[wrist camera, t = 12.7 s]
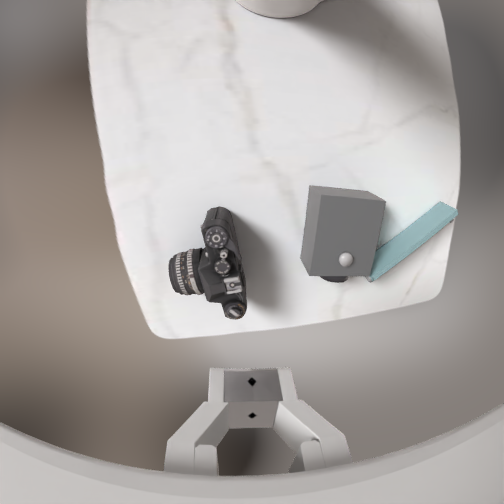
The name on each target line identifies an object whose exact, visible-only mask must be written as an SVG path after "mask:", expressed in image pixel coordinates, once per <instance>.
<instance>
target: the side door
mask: <svg viewBox="0 0 504 504" xmlns="http://www.w3.org/2000/svg"><path fill="white" fill-rule="evenodd" d="M457 215H458V212H457V209H455V208H453V207H451V206H449V205H447V204H445V203H443V202H441V201H440V202H439V203H438V204H437V205H435V206H434V207H433V208H432V209H430V210H429V211H428V212H427V213H425V214H424V215H423V216H422V217H420V218H419V219H418V220H417V221H415V222H414V223H413V224H411V225H410V226H409V227H408V228H406V229H405V230H404V231H402V232H401V233H400V234H398V235H397V236H396V237H394V238H393V239H392V240H390V241H389V242H388V243H386V244H385V245H384V246H382V247H381V248H380V249H378V250H377V251H376V252H375V256H374V260H373V264H372V268H371V272H370V276H365V277H366V279H367V280H368V281H369V282H373V281H374V280H376V279H377V278H378V277H380V276H381V275H382V274H384V273H385V272H387V271H388V270H389V269H391V268H392V267H393V266H395V265H396V264H397V263H399V262H400V261H401V260H403V259H404V258H405V257H407V256H408V255H409V254H411V253H412V252H413V251H414V250H416V249H417V248H418V247H419V246H421V245H422V244H423V243H424V242H426V241H427V240H428V239H429V238H431V237H432V236H433V235H434V234H436V233H437V232H438V231H439V230H440V229H442V228H443V227H444V226H445V225H446V224H448V223H449V222H450V223H451V222H452V221H453V218H455V217H456V216H457Z"/></svg>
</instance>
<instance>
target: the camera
mask: <svg viewBox="0 0 504 504" xmlns="http://www.w3.org/2000/svg"><path fill="white" fill-rule="evenodd" d="M201 228H202V229H201V231H202V235H203V238H204V242H205V246H206V247H205V248H204V249H202V248H199V249H190V250H189V251H187V252H181V253H178V254H176V255H174V256H173V258H171V259H170V261H169V277H170V281H171V284H172V287H173V289H174V290H175V292H177V293H180V294H181V295H182V294H185V295H191V294H197V295H200V294H203V293H205V296H206V299H207V301H209V302H214V303H221V304H222V307H223V310H224V314H225V317H227V318H230V319H240V318H242V317H243V316H244V314H245V312H246V309H247V300H246V283H245V276H244V272H243V267H242V263H241V255H240V253H239V249H238V244H237V238H236V234H235V229H234V226H233V221H232V217H231V214H230V212H229V211H228V210H227V209H226V208H223V207H216V208H211V209H210V210H209V211H207V215H206V218H205V221H204V223H203V225H201Z"/></svg>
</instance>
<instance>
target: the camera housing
mask: <svg viewBox="0 0 504 504" xmlns="http://www.w3.org/2000/svg"><path fill="white" fill-rule="evenodd" d="M385 203H386V201H385V200H383V199H381V198H379V197H378V196H376V195H374V194H372V193H370V192H368V191H361V190H352V189H342V188H332V187H321V186H309V194H308V203H307V212H306V220H305V228H304V236H303V243H302V251H301V260H302V262H303V264H304V266H305V268H306V270H307V272H308V274H309V276H320V277H321V278H323V279H324V280H327V281H330V282H337V283H339V282H344V281H346V280H347V279H348V276H370V272H371V268H372V264H373V260H374V256H375V252H376V247H377V243H378V238H379V234H380V229H381V224H382V219H383V214H384V209H385Z"/></svg>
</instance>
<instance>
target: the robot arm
mask: <svg viewBox="0 0 504 504" xmlns="http://www.w3.org/2000/svg"><path fill="white" fill-rule="evenodd" d="M236 1H237V2H238V3H239V4H240V5H242V6H243V7H244V8H246V9H248V10H250V11H252V12H254V13H257V14H260V15H264V16H268V17H276V18H288V17H295V16H299V15H302V14H305V13H307V12H309V11H310V10H312V9H313V8H314V7H315V6H316V5H317V4H318V3H320V2H321V1H324V0H236ZM267 427H273V429H274V430H275V431H276V432H277V434H278V435H279V436H280V437H281V438H282V439H283V440H284V442H285V443H286V444H287V445H288V446H289V447H290V448H291V450H292V451H293V452H294V453H295V454H296V456H295V458H294V460H293V462H292V464H291V466H290V468H289V473H285V474H274V475H257V476H219V471H218V460H217V450H216V447H217V445H218V444H219V442H220V441H221V440H222V438H223V437H224V435H225V434H226V433H227V431H228V430H229V428H267ZM0 504H504V403H503V404H501V405H499V406H497V407H496V408H494V409H492V410H490V411H489V412H487V413H485V414H483V415H481V416H479V417H478V418H476V419H474V420H472V421H470V422H468V423H466V424H464V425H461V426H459V427H457V428H455V429H453V430H451V431H448V432H446V433H444V434H441V435H439V436H437V437H434V438H432V439H429V440H427V441H424V442H421V443H419V444H416V445H413V446H410V447H407V448H404V449H401V450H398V451H395V452H392V453H388V454H385V455H382V456H378V457H374V458H370V459H367V460H362V461H358V462H354V463H353V461H352V458H351V454H350V451H349V448H348V445H347V442H346V439H345V435H344V434H343V433H341V432H340V431H339V430H338V429H336V428H335V427H334V426H333V425H331V424H330V423H329V422H328V421H327V420H325V419H324V418H323V417H322V416H321V415H319V414H318V413H317V412H316V411H315V410H313V409H312V408H311V407H310V406H309V405H307V404H306V403H305V402H304V401H303V400H298V396H297V392H296V387H295V383H294V379H293V375H292V371H291V368H290V367H288V368H259V369H231V368H229V369H228V368H210V377H209V395H208V402H204V403H203V404H202V405H201V406H200V407H199V408H198V409H197V410H196V411H195V413H194V414H193V415H192V416H191V417H190V418H189V419H188V420H187V421H186V422H185V423H184V424H183V425H182V426H181V427H180V428H179V430H178V431H177V432H176V433H175V434H174V435H173V436H172V437H171V438H170V439H169V440H168V441H167V449H166V457H165V465H164V472H162V471H154V470H148V469H142V468H136V467H131V466H126V465H120V464H116V463H112V462H108V461H103V460H99V459H96V458H92V457H88V456H85V455H81V454H78V453H75V452H71V451H69V450H66V449H63V448H60V447H57V446H54V445H51V444H48V443H46V442H43V441H41V440H38V439H36V438H33V437H31V436H29V435H26V434H24V433H22V432H20V431H18V430H15V429H13V428H11V427H9V426H7V425H5V424H3V423H1V422H0Z"/></svg>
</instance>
